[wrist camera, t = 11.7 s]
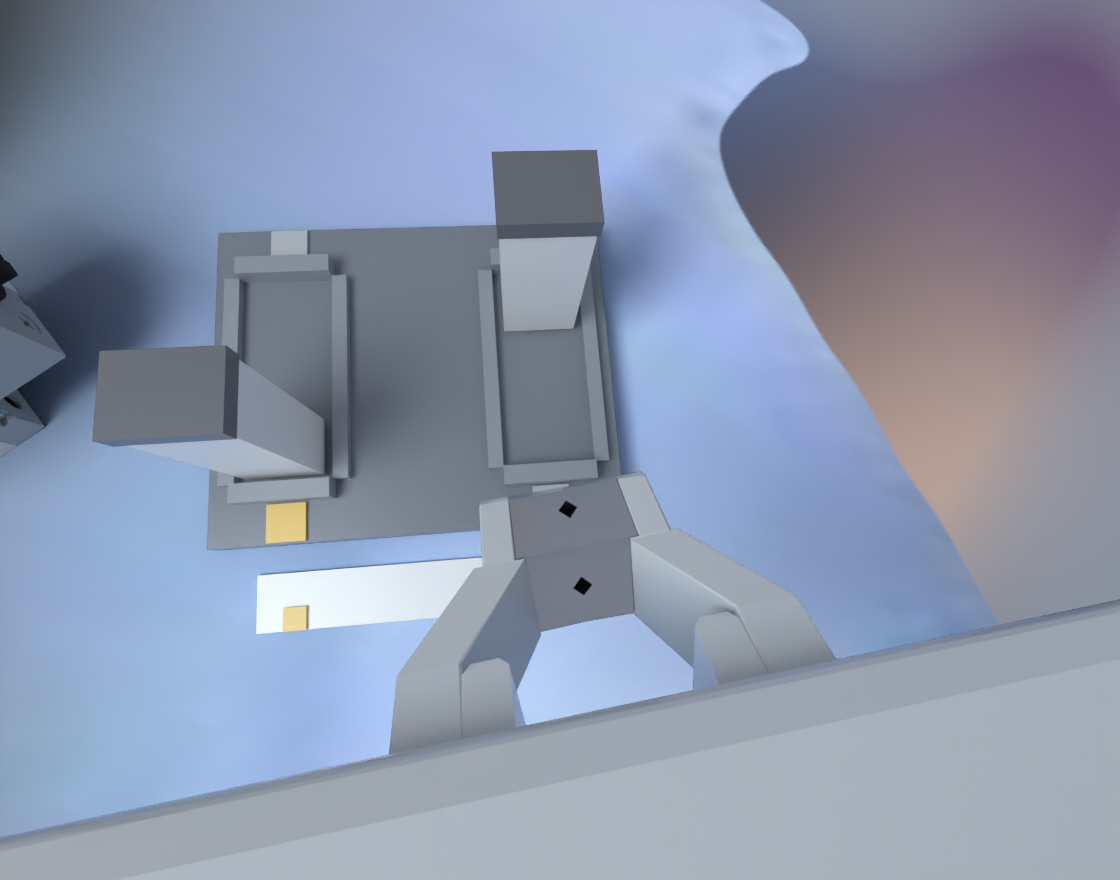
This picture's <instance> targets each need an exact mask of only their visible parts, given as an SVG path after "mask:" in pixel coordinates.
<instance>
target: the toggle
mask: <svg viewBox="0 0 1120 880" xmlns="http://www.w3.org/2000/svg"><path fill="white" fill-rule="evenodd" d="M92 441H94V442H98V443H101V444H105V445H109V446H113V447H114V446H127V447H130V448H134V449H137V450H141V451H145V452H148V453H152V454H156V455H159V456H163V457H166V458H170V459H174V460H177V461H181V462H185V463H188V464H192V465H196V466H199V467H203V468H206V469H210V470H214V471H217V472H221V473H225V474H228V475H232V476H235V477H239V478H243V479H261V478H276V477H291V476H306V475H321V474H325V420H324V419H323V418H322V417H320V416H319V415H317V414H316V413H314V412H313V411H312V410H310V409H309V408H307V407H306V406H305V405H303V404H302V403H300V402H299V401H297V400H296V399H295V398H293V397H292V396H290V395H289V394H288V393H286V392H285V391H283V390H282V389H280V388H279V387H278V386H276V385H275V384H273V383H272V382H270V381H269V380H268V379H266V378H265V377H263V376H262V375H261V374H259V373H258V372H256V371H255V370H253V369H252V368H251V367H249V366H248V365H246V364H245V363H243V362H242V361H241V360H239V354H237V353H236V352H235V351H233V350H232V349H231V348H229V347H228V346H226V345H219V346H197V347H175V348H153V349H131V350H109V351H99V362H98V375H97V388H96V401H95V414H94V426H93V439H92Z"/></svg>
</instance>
